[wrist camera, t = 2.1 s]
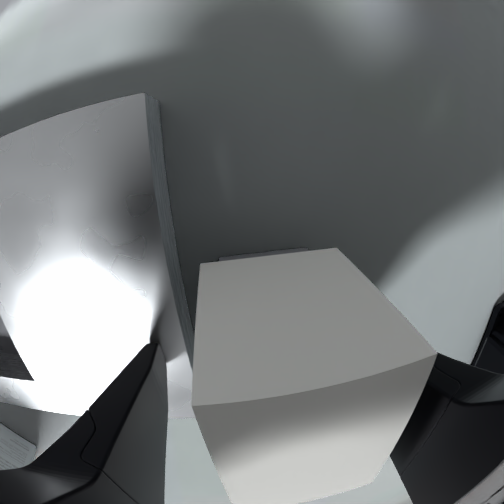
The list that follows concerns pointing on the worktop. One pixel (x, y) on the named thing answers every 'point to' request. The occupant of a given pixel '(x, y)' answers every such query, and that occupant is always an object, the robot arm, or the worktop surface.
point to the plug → (301, 374)
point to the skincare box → (14, 450)
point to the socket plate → (89, 258)
